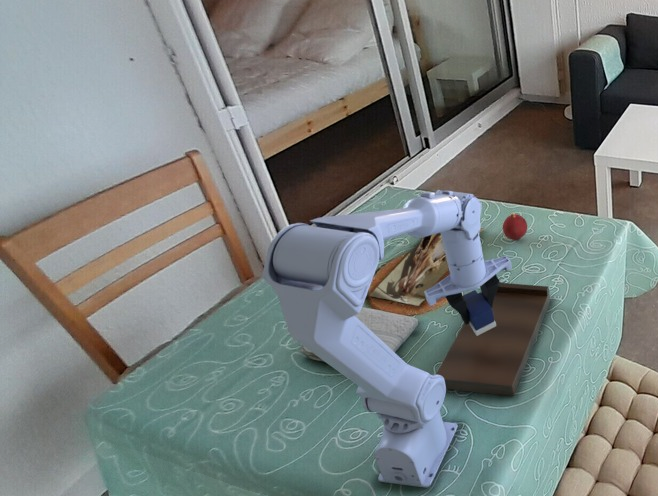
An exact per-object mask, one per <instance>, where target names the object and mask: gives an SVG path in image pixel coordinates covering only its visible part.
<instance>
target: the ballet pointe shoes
mask: <svg viewBox="0 0 658 496" xmlns="http://www.w3.org/2000/svg"><path fill="white" fill-rule="evenodd" d="M484 230H485V228H484V227H480V231H479V236H480V235H481V233H482V232H483V231H484ZM448 271H449V267H448V263H447V258H446V254H445V249H444V245H443V241H442V237H441V233H437V234H433V235H430V236H426V237H422V239H421V241H420V242H419V243H418V244H416V246H415V247H414V248H413V249H412V251H410V252H409V253H408V254H407V255H406V256H405V257H404V258H403V259H402V261H400V262H399V264H397V265H396V267H395V268H394V269H393V270H391V272H389V273H388V275H387V276H386V277H385V278H384V279H383V280H382V281H381V282H380V283H379V284H378V285H377V286H376V287H375V288H374V290H372V292H370V294H369V295H368V296H369V297H373V298H377V299H383V300H384V299H386V300H389V301H393V302H399V303H403V304H408V305H412V306H417V307H418V306H420V305H421V304H422V303H423V302H424V301H426V297H425V293H424V291H426V290H428V289H430V288H432V287H433V286H435V285H436V284H438V283H439V282H440V280H441V279H442V277H444V275H445V273H447V272H448Z"/></svg>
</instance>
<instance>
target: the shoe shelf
mask: <svg viewBox="0 0 658 496" xmlns="http://www.w3.org/2000/svg"><path fill="white" fill-rule="evenodd" d="M481 294H482V293H481ZM550 304H551V294H550V287H549V286H546V285H545V286H544V285H535V284H521V283H508V282H500V286H499V288H498V290H497V292H496V294H495V297H494V301H493V306H492V311H493V316H494V320H495V322H496V326H495V327H493V328H491V329H490V330H488V331H486V332H484V333H482V334H480V335H478V336H476V334H475V332H474V331H473V329H472V328H471V326H470V324H467V325H465V323H464V322H463V324H462V326H461V328H460V329H459V332H458V333H457V335H456V337H455V339H454V341H453V342H452V344H451V346H450V348H449V349H448V351H447V353H446V355H445V357H444V358H443V361H442V362H441V363H440V365H439V367H438V369H437V371H436V373H435V374H434V375H441V376H442V377H443V378H444V380H445V385H446V390H451V391H452V390H453V391H461V392H462V391H463V392H471V393H481V394H489V395H490V394H492V395H501V396H510V397H514V396H515V394H516V392H517V390H518V387H519V384H520V381H521V379H522V376H523V374H524V371H525V369H526V366H527V364H528V361H529V358H530V355H531V353H532V350H533V347H534V345H535V342H536V340H537V337H538V335H539V332H540V329H541V327H542V324H543V322H544V319H545V316H546V314H547V311H548V308H549V306H550Z"/></svg>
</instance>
